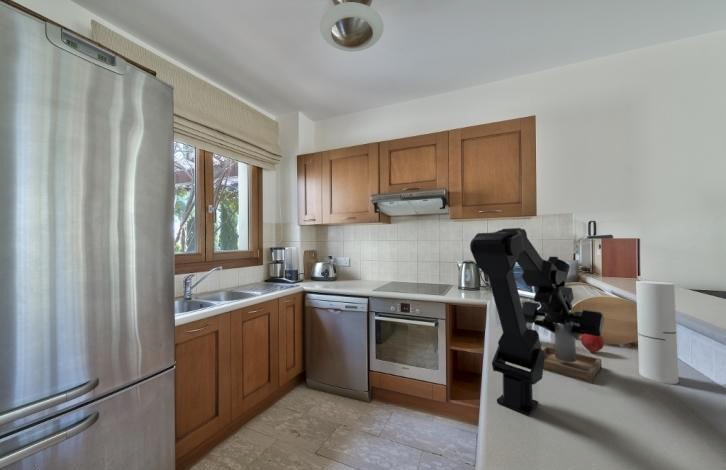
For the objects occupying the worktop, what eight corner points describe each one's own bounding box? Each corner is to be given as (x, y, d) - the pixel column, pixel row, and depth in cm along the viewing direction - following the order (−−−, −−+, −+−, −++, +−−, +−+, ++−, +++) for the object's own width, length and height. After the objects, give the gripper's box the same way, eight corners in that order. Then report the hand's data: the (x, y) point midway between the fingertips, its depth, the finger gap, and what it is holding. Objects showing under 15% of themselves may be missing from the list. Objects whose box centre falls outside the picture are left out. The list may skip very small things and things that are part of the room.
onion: (577, 351, 93) (576, 326, 93) (587, 348, 95) (586, 324, 95) (598, 357, 87) (597, 331, 88) (608, 354, 90) (607, 329, 90)
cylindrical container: (687, 385, 70) (682, 284, 71) (653, 382, 71) (649, 283, 72) (662, 372, 77) (659, 281, 78) (632, 370, 78) (629, 280, 79)
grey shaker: (578, 363, 77) (577, 315, 78) (557, 360, 79) (556, 313, 79) (572, 356, 82) (571, 311, 82) (552, 354, 83) (551, 310, 84)
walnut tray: (591, 383, 70) (591, 373, 70) (530, 365, 81) (529, 357, 81) (601, 367, 80) (601, 359, 80) (545, 353, 90) (544, 345, 90)
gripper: (600, 281, 72) (612, 318, 78) (523, 275, 86) (538, 306, 92) (593, 316, 66) (606, 353, 73) (511, 303, 81) (528, 335, 87)
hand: (566, 334), depth 81 cm, fingers closed on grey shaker, 5 cm apart
